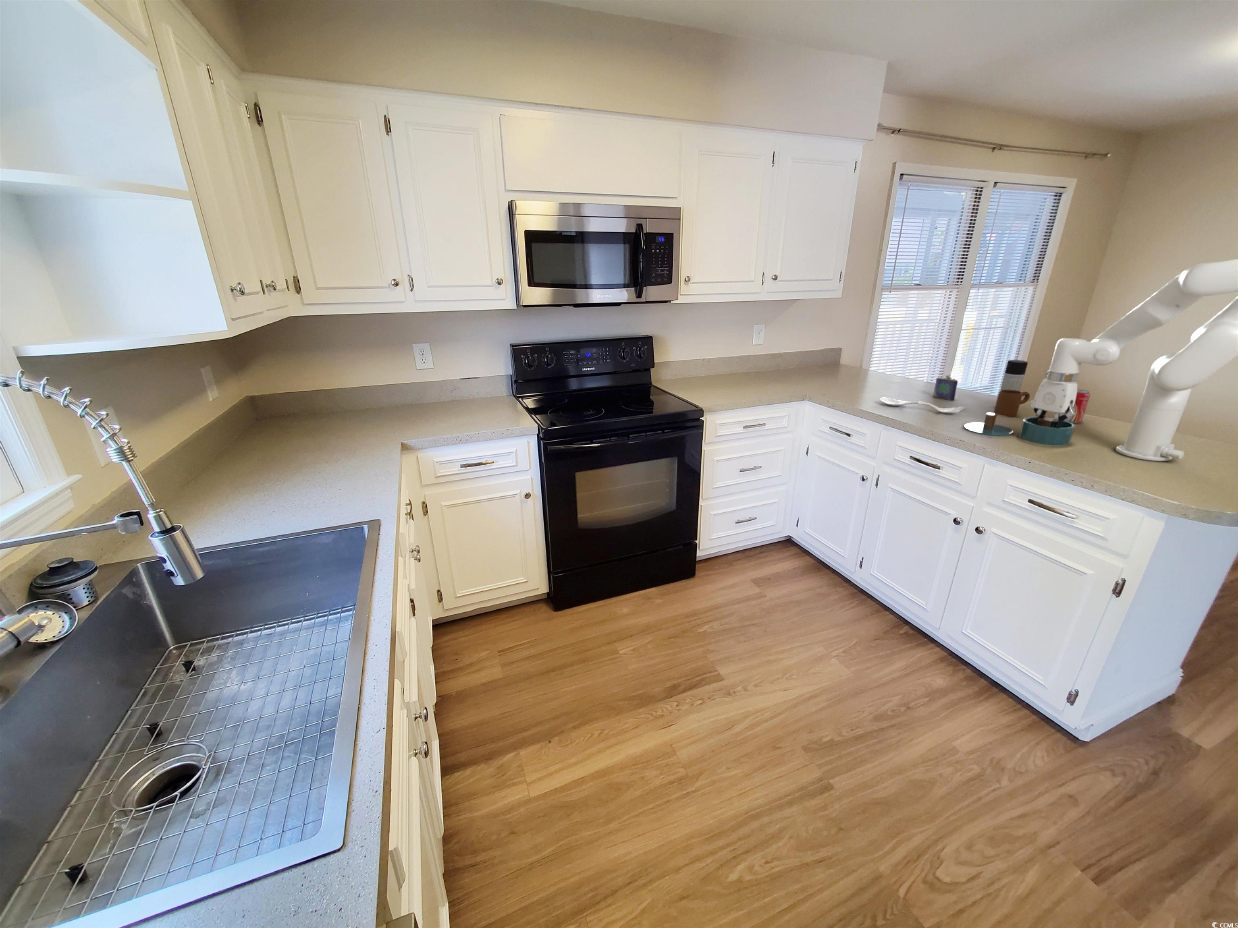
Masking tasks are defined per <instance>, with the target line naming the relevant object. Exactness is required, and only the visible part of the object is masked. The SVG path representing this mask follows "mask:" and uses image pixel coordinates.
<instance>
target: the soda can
mask: <svg viewBox="0 0 1238 928" xmlns="http://www.w3.org/2000/svg"><path fill="white" fill-rule="evenodd" d="M1090 398H1091V393H1090V390H1087V389H1079V388H1077V395H1076V400H1075V404H1074V407H1073V408H1074V411H1075V414H1076V415H1075V416H1073V417H1069V418H1067V419H1065V420H1064V421H1068V422H1070V423H1073V424H1079V423H1080V422H1083V419H1084V416H1085V414H1086V410H1087V407H1088V403H1089V401H1090ZM1067 413H1068V412H1065V414H1067Z"/></svg>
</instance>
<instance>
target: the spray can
mask: <svg viewBox="0 0 1238 928" xmlns="http://www.w3.org/2000/svg"><path fill="white" fill-rule="evenodd" d="M1028 364H1029V362H1028V361H1026V360H1022V359H1009V360H1007V363H1006V367H1005V371H1004V373H1003V377H1002V381H1001V384H1000V388H999V391H1000V390H1015V391H1020V392H1021V389H1022V387H1023V383H1024V378H1025V375H1026V371H1027V367H1028Z"/></svg>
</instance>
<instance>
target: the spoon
mask: <svg viewBox="0 0 1238 928" xmlns="http://www.w3.org/2000/svg"><path fill="white" fill-rule="evenodd" d="M878 401H880V402H881V403H883V404H884V405H888V406H892V407H899V406H900V407H901V406H906V405H912V404H913V405H915V404H916V405H921V406H928V407H931V408H933V409H934V410H935V411H937V412H938V413H941V414H958V413H959V412H961V411H963V410H965V409H966V407H965V406H957V407H945V408H942V407H938V406H936V405H935V404H933V403H930V402H925V401H918V400H917V401H916V400H912V401H905V400H900V399H895V398H892V397H891V398H890V397H879V400H878Z"/></svg>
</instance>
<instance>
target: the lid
mask: <svg viewBox="0 0 1238 928" xmlns="http://www.w3.org/2000/svg"><path fill="white" fill-rule="evenodd" d="M997 417H998V414H996V413H994V412H986V413H985V417H984V422H969V423H966V424H964V426H963V429H964V430H966V431H968V432H971V433H973V434H978V435H981V436H982V435H983V436H989V437H1009V436H1011V435H1013V434H1014V430H1012V429H1011V428H1010V427H1007V426H1004V425H1001V424H996V422H997V421H996V420H997Z"/></svg>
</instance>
